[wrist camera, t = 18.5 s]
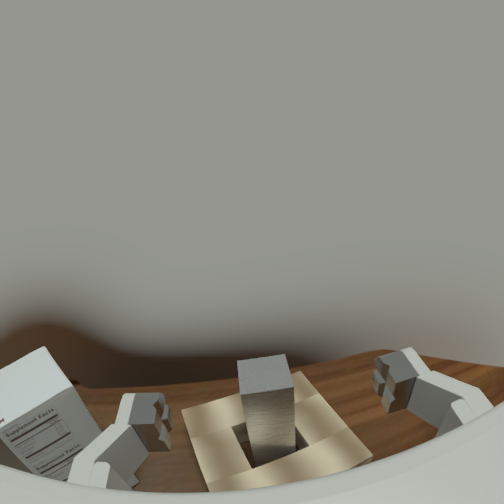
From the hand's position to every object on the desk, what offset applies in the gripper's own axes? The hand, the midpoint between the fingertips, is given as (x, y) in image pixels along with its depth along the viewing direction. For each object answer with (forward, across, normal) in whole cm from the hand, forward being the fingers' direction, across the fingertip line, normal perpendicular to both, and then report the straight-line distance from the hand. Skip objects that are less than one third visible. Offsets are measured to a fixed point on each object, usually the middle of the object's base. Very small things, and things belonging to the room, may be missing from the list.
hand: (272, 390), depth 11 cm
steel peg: (+12, 0, -25) cm, 27 cm away
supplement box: (+8, -22, -24) cm, 34 cm away
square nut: (+12, 0, -24) cm, 27 cm away
